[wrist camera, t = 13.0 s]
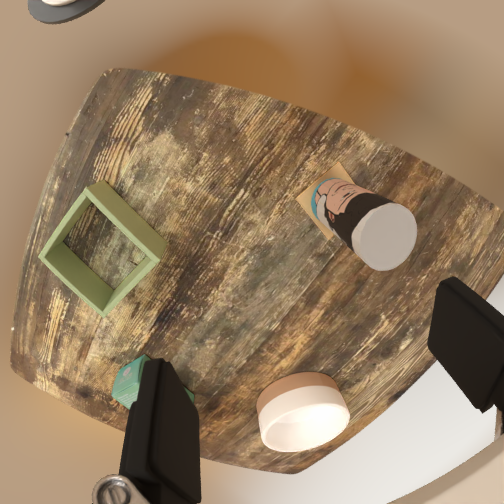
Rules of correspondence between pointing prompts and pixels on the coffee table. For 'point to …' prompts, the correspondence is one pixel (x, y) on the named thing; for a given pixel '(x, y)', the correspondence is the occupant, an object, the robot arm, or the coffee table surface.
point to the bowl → (301, 412)
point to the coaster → (306, 195)
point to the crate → (78, 272)
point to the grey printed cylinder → (366, 222)
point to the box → (131, 382)
